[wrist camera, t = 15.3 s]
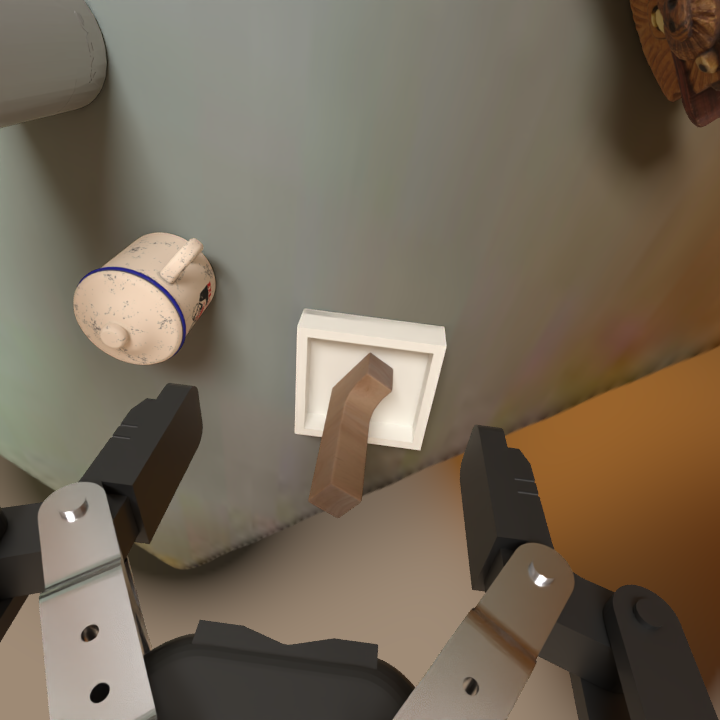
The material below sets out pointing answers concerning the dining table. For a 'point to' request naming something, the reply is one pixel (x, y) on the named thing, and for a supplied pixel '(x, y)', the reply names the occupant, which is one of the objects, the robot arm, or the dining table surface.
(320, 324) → the tray
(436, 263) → the dining table surface
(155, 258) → the teacup with lid
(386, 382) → the wooden block
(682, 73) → the wooden carving
